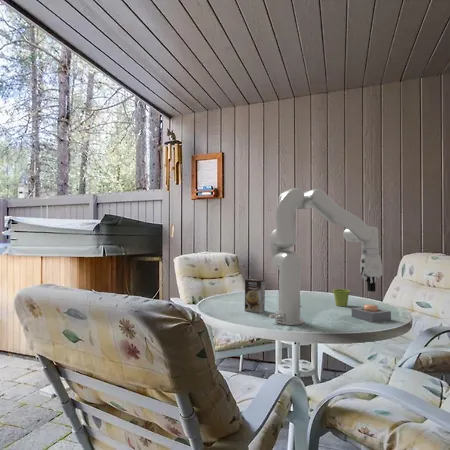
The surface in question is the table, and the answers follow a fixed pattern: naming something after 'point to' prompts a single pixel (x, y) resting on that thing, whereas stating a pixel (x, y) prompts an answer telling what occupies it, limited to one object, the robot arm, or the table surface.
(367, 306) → the push button
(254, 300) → the coffee box
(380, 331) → the table surface
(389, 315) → the button box
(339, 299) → the plant pot
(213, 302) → the table surface
